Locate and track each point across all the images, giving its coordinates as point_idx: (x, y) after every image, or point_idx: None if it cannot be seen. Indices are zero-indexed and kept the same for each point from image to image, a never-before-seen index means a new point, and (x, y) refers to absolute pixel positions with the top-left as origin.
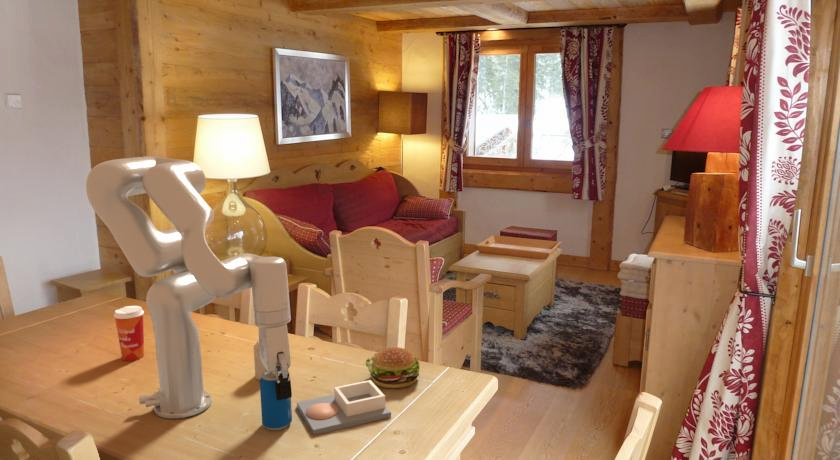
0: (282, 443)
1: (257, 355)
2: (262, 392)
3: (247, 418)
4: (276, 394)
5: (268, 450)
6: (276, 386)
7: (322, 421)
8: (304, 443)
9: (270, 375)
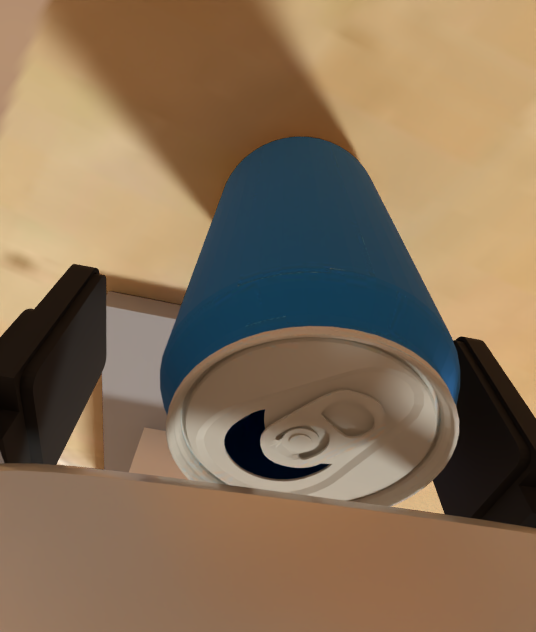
0: (100, 148)
1: None
2: (287, 225)
3: (484, 105)
4: (52, 290)
5: (57, 45)
6: (7, 348)
7: (153, 358)
8: (57, 231)
9: (320, 409)
